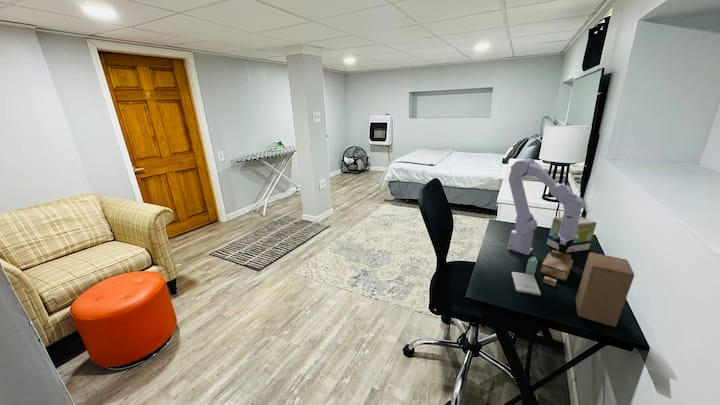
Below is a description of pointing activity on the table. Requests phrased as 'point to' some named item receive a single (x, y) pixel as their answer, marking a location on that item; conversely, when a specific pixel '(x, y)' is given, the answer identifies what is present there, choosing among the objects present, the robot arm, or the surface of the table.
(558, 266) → the lid
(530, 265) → the teal stepped block
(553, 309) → the table surface
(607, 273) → the wooden block
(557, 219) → the tea box
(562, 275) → the tan shallow box
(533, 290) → the external hard drive
